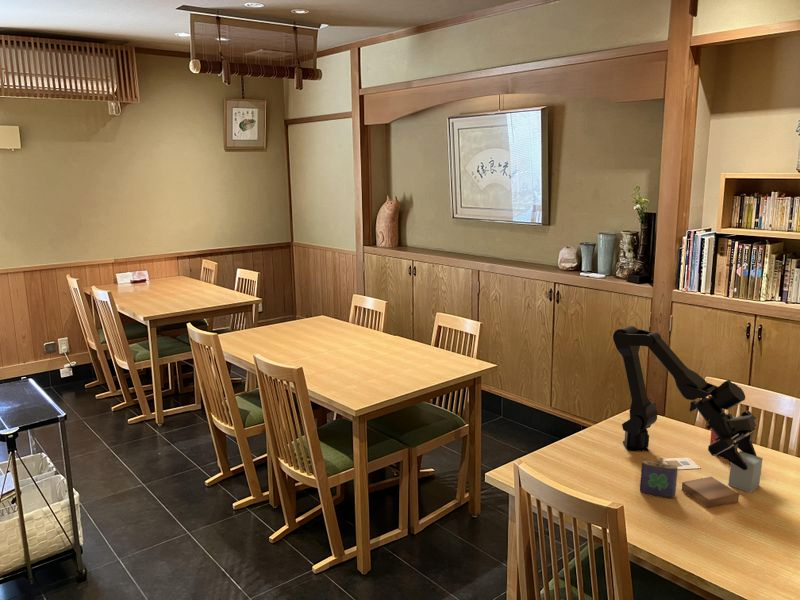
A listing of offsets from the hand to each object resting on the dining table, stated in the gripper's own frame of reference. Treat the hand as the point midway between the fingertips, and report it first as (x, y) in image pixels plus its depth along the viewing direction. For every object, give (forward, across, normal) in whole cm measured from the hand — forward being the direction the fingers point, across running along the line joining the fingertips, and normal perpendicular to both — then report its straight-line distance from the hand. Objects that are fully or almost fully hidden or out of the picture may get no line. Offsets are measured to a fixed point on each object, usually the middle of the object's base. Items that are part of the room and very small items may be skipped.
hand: (751, 465), depth 182 cm
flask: (-6, -23, +16) cm, 28 cm away
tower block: (+4, 0, +6) cm, 7 cm away
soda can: (-6, +16, +15) cm, 23 cm away
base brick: (+1, -13, +9) cm, 16 cm away
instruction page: (-9, -1, +19) cm, 21 cm away
